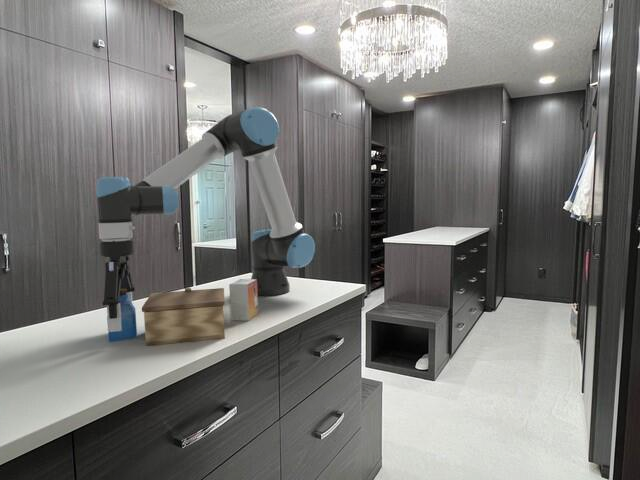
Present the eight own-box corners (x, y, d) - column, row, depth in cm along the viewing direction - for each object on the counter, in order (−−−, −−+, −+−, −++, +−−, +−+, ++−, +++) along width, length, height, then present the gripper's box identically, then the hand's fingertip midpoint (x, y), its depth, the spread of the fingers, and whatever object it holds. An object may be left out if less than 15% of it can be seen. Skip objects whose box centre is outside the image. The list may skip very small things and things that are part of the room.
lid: (224, 291, 114) (223, 285, 114) (224, 305, 101) (224, 297, 100) (151, 296, 110) (151, 290, 110) (142, 311, 96) (141, 304, 96)
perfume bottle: (110, 334, 107) (107, 289, 106) (136, 331, 109) (133, 286, 108) (108, 341, 101) (105, 293, 100) (136, 338, 103) (133, 290, 102)
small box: (249, 321, 116) (247, 284, 115) (230, 320, 117) (228, 283, 116) (259, 313, 123) (257, 278, 122) (241, 313, 125) (239, 278, 124)
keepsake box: (224, 322, 115) (222, 294, 114) (224, 338, 101) (223, 306, 101) (155, 329, 111) (153, 299, 110) (146, 346, 97) (143, 312, 96)
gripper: (121, 243, 92) (127, 336, 93) (141, 236, 116) (146, 310, 118) (84, 244, 90) (90, 339, 92) (112, 237, 114) (117, 312, 116)
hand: (121, 323), depth 105 cm, fingers open, 13 cm apart
